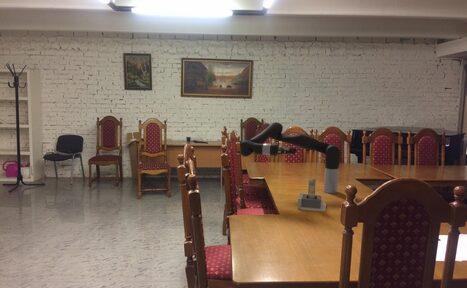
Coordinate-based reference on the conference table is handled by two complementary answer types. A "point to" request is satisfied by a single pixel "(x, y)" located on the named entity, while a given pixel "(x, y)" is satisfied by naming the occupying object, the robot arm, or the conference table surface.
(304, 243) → the conference table surface
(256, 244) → the conference table surface
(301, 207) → the dowel dock
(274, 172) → the conference table surface
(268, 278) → the conference table surface
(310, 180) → the dowel
